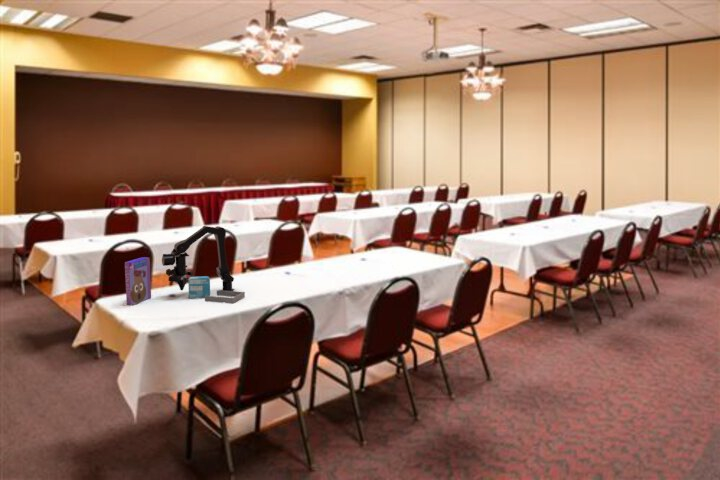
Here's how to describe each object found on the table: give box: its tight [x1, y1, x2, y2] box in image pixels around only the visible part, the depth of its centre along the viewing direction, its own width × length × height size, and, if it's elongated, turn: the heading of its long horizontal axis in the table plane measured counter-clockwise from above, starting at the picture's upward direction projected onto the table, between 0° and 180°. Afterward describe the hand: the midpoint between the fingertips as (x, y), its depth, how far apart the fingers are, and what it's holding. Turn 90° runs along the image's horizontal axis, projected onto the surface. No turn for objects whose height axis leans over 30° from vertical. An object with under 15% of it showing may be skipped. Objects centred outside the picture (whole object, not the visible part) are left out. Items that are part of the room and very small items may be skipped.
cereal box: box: [124, 256, 152, 306], centre depth 343 cm, size 17×5×24 cm, turn 168°
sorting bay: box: [204, 289, 246, 304], centre depth 351 cm, size 15×18×3 cm
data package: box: [187, 275, 211, 299], centre depth 355 cm, size 12×4×12 cm, turn 107°
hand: (181, 290), depth 358 cm, fingers closed
